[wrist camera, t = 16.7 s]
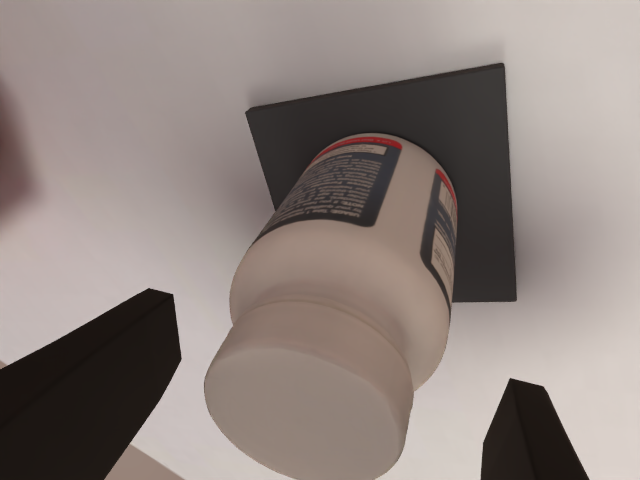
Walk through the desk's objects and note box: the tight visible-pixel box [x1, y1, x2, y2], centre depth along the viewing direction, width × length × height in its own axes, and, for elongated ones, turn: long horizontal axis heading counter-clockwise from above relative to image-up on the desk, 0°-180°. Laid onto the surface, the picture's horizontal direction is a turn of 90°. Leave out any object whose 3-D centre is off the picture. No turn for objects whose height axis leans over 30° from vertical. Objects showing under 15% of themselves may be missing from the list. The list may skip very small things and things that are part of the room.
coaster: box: [245, 63, 517, 302], centre depth 17 cm, size 8×8×1 cm
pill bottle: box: [204, 133, 457, 480], centre depth 13 cm, size 5×5×9 cm
